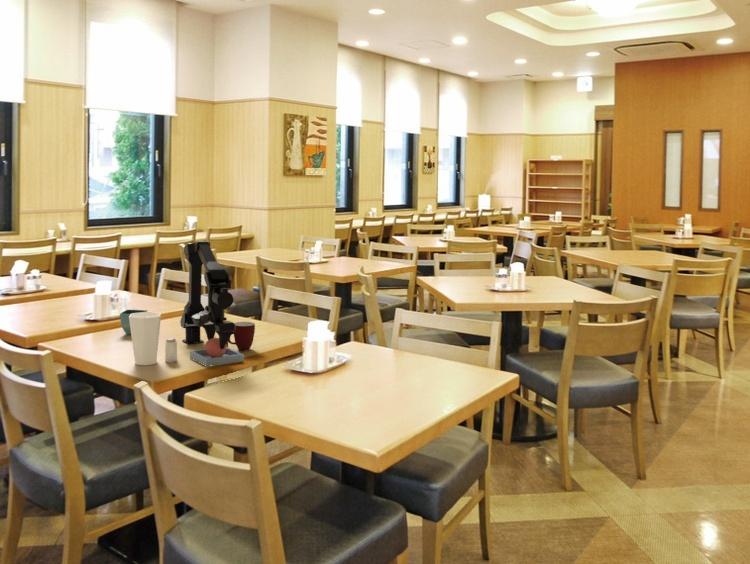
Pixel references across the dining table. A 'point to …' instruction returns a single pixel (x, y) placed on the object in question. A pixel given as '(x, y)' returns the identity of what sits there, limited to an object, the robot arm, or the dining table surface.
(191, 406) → the dining table surface
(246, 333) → the mug
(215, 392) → the dining table surface
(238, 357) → the dish
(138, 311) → the flower pot
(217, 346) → the apple
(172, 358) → the white shaker
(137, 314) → the cup
